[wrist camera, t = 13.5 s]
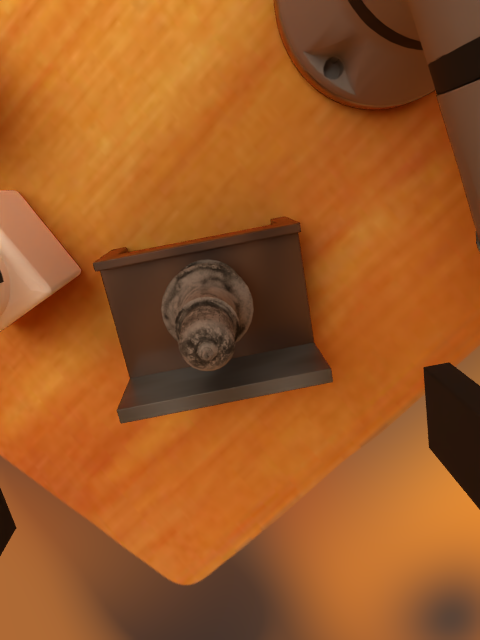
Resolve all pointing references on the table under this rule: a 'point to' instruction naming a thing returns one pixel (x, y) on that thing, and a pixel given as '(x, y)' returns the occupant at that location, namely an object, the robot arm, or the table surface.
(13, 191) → the container
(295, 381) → the spice rack
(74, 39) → the table surface
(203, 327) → the salt shaker
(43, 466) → the table surface
